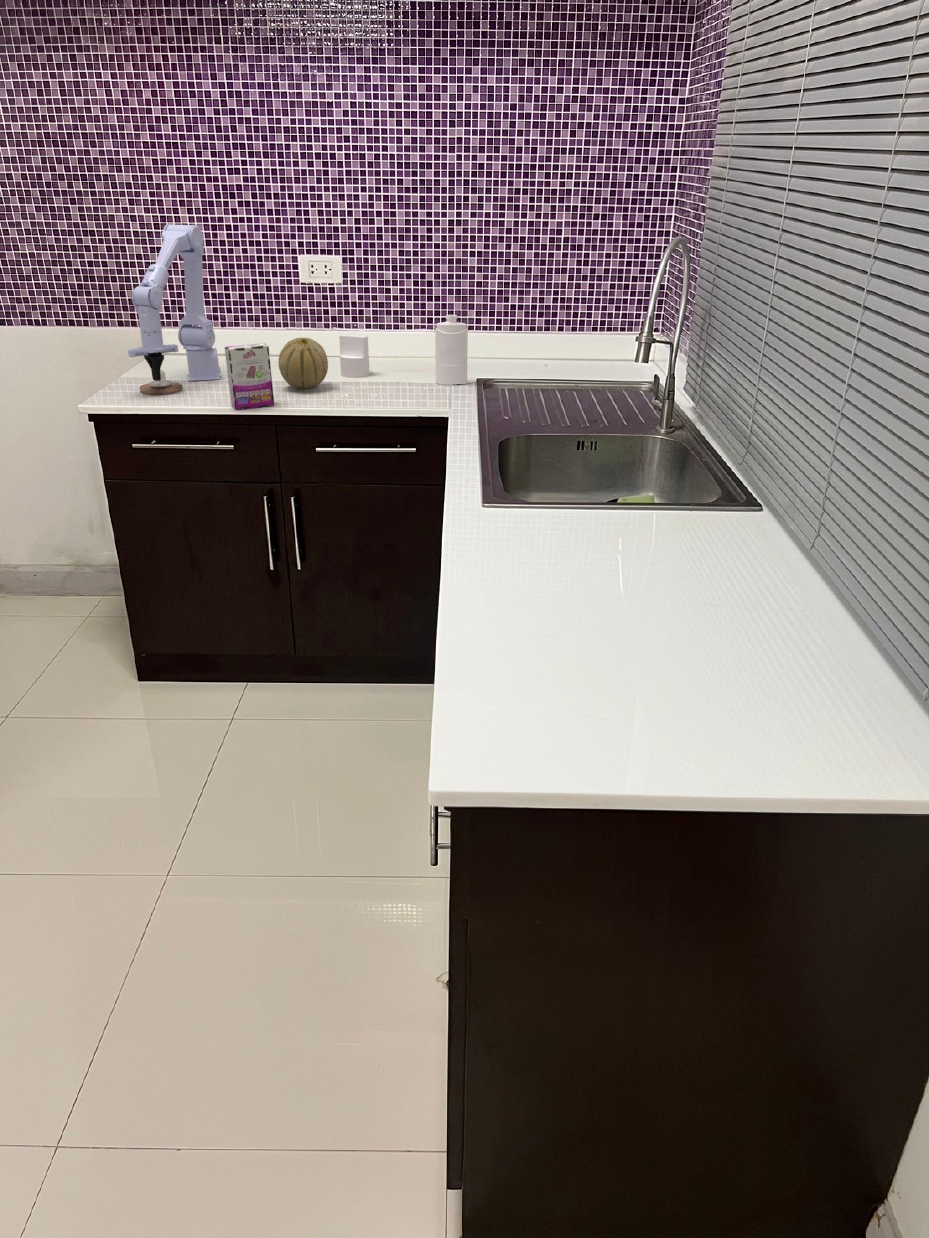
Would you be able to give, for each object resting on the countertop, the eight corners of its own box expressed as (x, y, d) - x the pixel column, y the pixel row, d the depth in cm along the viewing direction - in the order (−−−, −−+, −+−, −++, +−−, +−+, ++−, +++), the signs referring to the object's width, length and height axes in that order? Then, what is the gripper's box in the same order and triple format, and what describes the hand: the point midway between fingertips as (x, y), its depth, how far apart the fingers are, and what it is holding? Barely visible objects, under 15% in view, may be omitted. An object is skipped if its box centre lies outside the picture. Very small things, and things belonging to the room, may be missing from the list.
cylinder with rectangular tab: (335, 376, 292) (333, 337, 287) (349, 370, 300) (347, 332, 294) (361, 378, 289) (359, 339, 284) (374, 373, 297) (373, 334, 291)
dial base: (182, 384, 280) (181, 380, 279) (183, 393, 270) (182, 389, 269) (140, 387, 277) (139, 382, 276) (140, 396, 267) (139, 391, 266)
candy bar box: (269, 402, 262) (264, 342, 254) (274, 406, 258) (269, 345, 250) (230, 406, 257) (223, 345, 250) (235, 410, 253) (228, 348, 246)
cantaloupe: (310, 380, 286) (307, 330, 280) (339, 388, 277) (337, 336, 270) (270, 388, 277) (265, 336, 270) (299, 396, 268) (295, 343, 261)
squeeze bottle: (466, 385, 282) (467, 382, 286) (467, 317, 273) (468, 314, 277) (435, 385, 282) (436, 381, 287) (434, 316, 273) (435, 314, 278)
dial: (148, 384, 274) (146, 369, 272) (169, 382, 276) (167, 367, 274) (153, 390, 268) (151, 374, 266) (174, 388, 270) (172, 372, 268)
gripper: (134, 335, 254) (141, 385, 260) (181, 330, 264) (187, 378, 270) (121, 332, 259) (128, 381, 265) (168, 327, 268) (174, 375, 274)
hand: (157, 380), depth 267 cm, fingers closed, pressing on dial
